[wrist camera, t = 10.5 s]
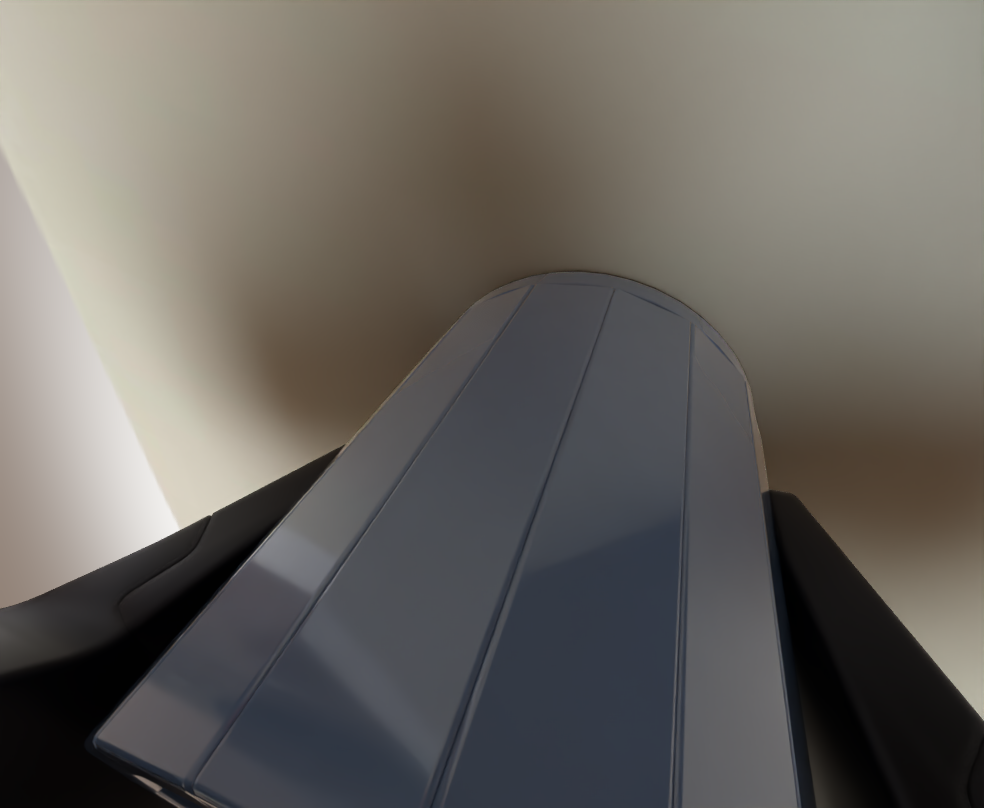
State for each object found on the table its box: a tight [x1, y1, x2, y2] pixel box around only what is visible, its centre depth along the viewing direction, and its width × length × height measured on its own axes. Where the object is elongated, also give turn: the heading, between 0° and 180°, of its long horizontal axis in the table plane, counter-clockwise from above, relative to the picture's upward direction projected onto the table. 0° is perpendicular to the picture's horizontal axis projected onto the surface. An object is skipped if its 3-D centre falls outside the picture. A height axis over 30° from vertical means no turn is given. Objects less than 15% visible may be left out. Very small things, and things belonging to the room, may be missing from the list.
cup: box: [84, 272, 817, 808], centre depth 7 cm, size 6×6×8 cm
